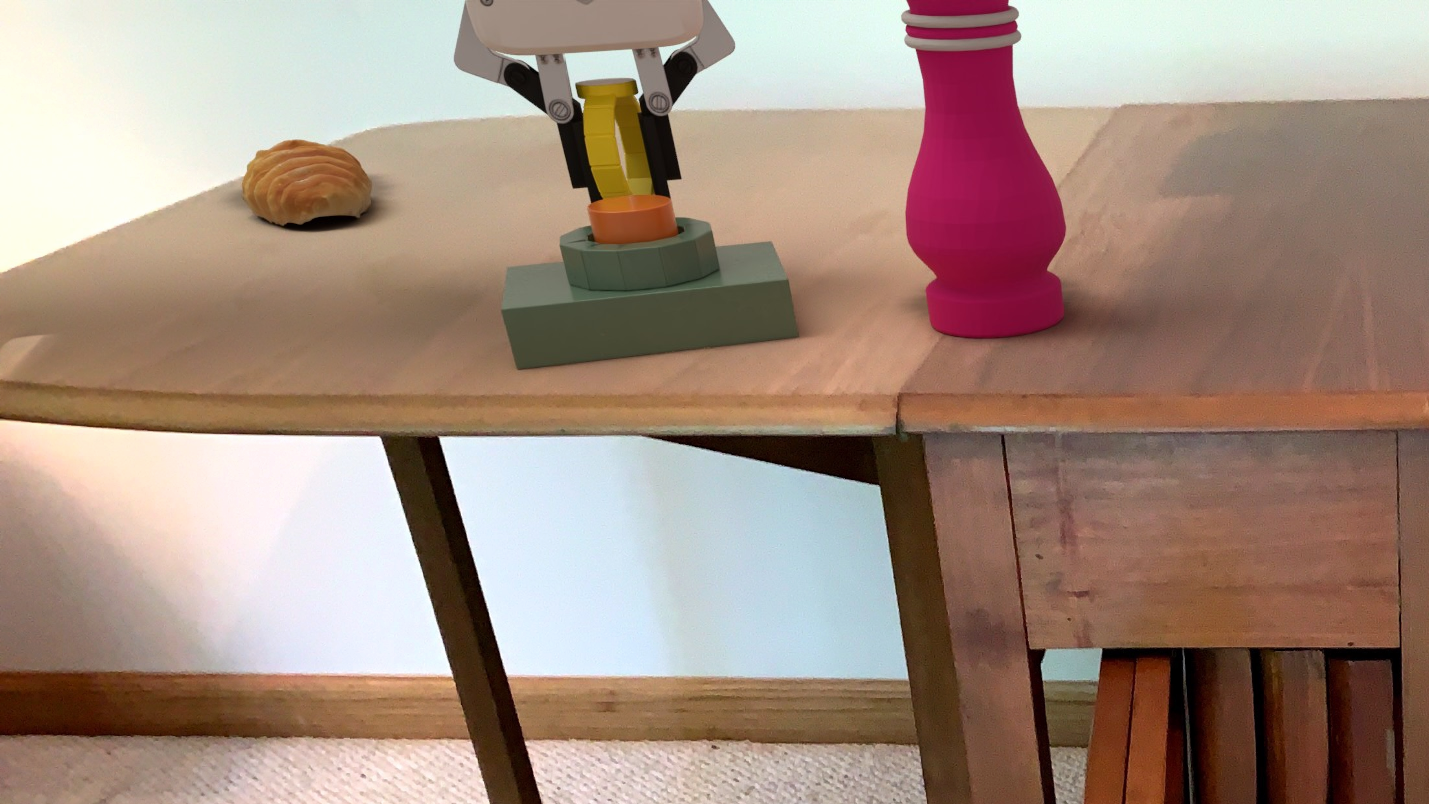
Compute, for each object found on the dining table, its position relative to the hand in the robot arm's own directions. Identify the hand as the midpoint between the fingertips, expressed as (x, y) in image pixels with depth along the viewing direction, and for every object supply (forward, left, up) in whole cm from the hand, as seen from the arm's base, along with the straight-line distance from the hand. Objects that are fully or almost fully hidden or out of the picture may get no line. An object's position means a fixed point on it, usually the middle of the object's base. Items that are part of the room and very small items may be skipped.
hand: (630, 196), depth 85 cm
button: (0, -10, 0) cm, 10 cm away
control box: (0, -9, -4) cm, 10 cm away
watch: (0, 0, -1) cm, 1 cm away
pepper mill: (+15, -14, -5) cm, 21 cm away
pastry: (-18, +27, -5) cm, 32 cm away
